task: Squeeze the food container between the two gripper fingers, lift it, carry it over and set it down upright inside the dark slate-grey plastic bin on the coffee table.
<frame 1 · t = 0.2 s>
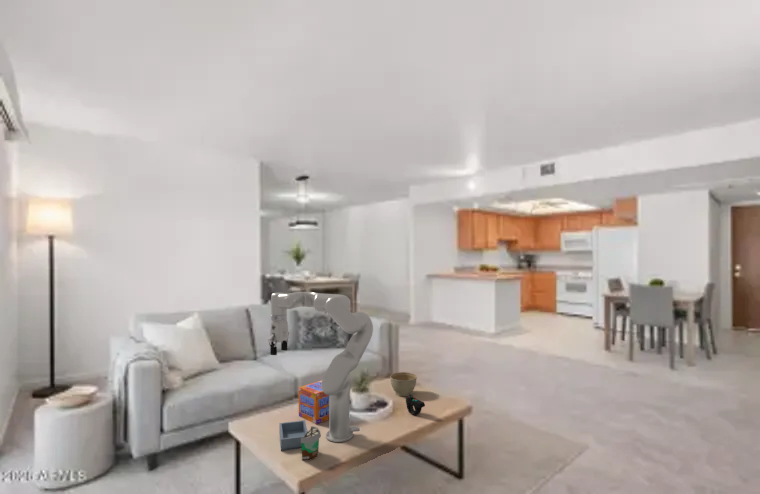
hand: (279, 352, 205), 37 cm above the table, tool pointing down, fingers open, 9 cm apart
food container: (313, 456, 176), on the table
controller: (415, 415, 220), on the table
bin: (293, 440, 191), on the table
game box: (319, 416, 219), on the table
planter bowl: (403, 394, 252), on the table
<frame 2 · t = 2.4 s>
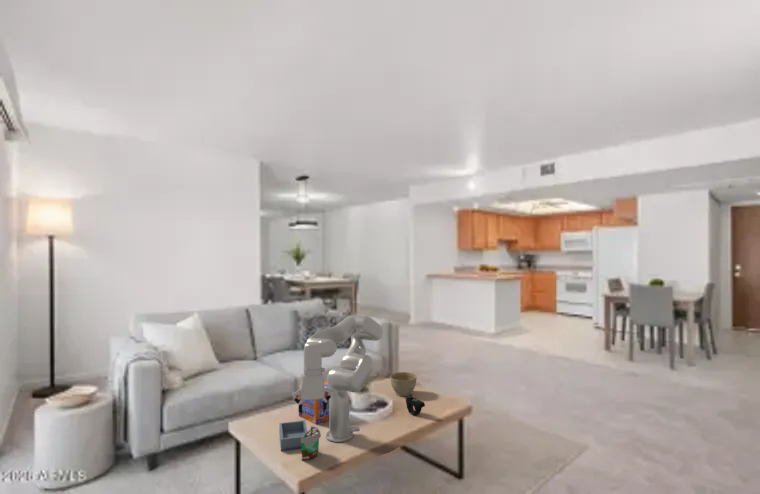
hand: (312, 412, 176), 19 cm above the table, tool pointing down, fingers open, 9 cm apart
nothing on the table moved.
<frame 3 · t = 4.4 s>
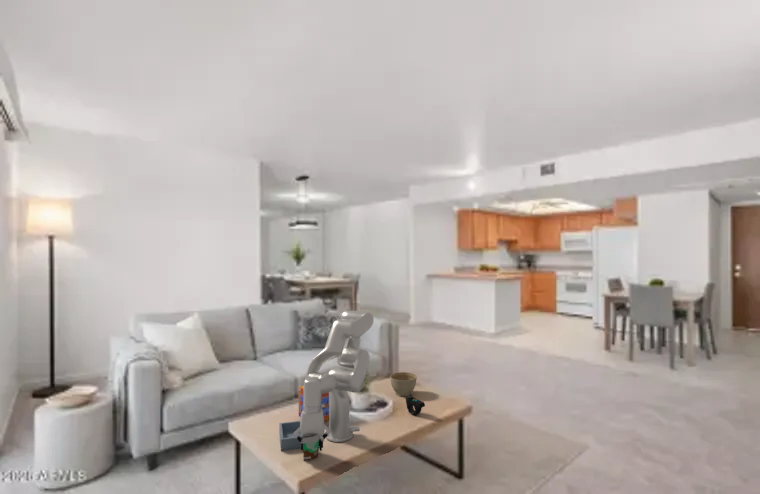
hand: (312, 450, 176), 3 cm above the table, tool pointing down, fingers closed on food container, 6 cm apart
food container: (313, 456, 176), on the table, touching gripper
everything else where it was.
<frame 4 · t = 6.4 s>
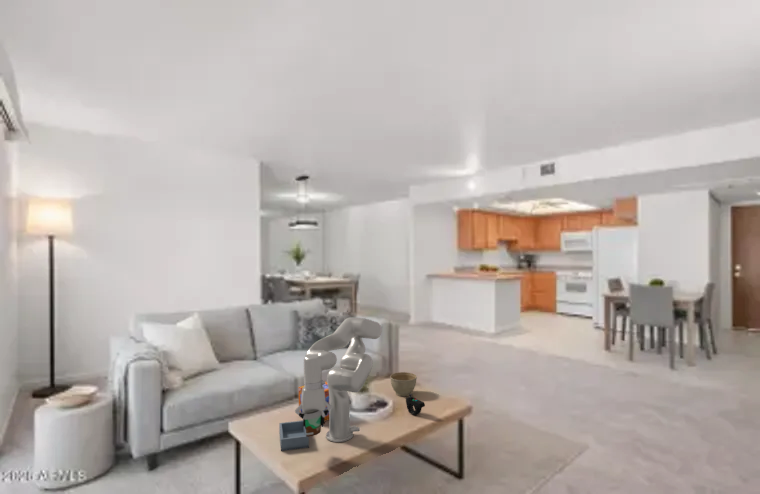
hand: (313, 426, 177), 12 cm above the table, tool pointing down, fingers closed on food container, 6 cm apart
food container: (316, 431, 178), point 10 cm above the table, touching gripper
everything else where it was.
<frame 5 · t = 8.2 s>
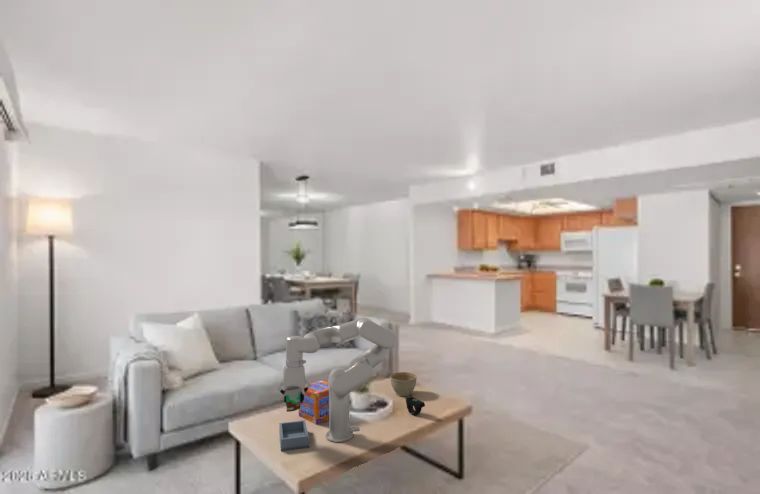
hand: (294, 402, 190), 18 cm above the table, tool pointing down, fingers closed on food container, 6 cm apart
food container: (296, 408, 191), point 15 cm above the table, touching gripper
everything else where it was.
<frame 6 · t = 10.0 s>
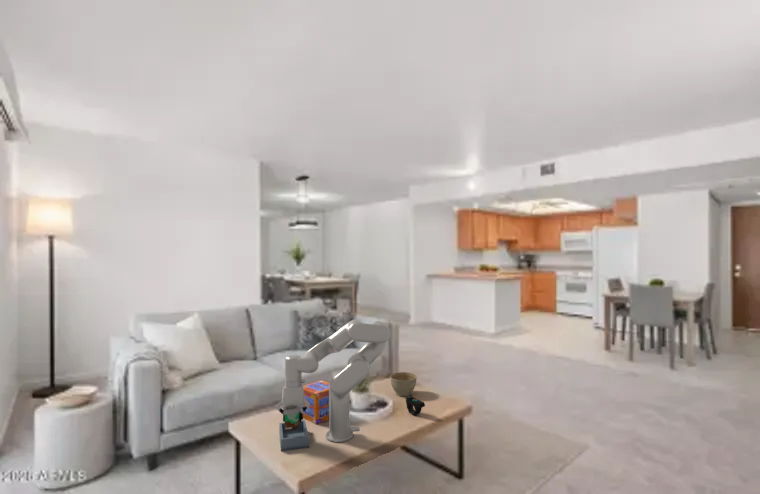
hand: (292, 421, 191), 9 cm above the table, tool pointing down, fingers closed on food container, 6 cm apart
food container: (294, 427, 192), point 6 cm above the table, touching gripper
everything else where it was.
when the fingers open (5 cm above the table, at t = 11.6 s): food container drops 1 cm, resting on bin.
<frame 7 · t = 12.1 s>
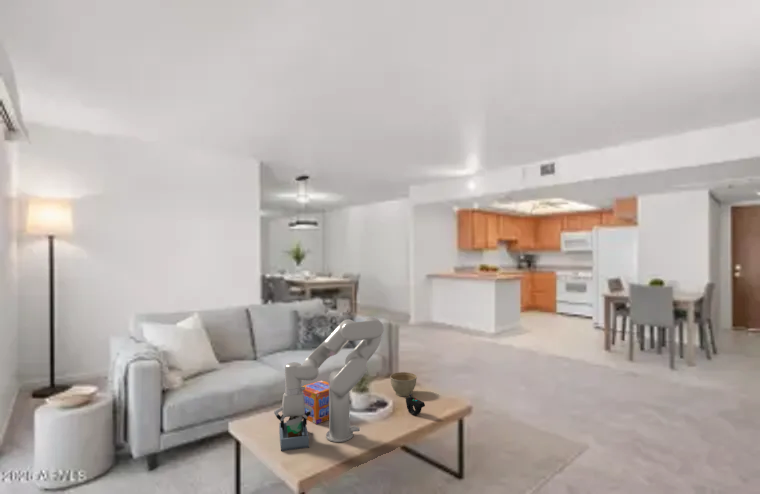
hand: (293, 427, 191), 6 cm above the table, tool pointing down, fingers open, 9 cm apart
food container: (297, 437, 192), point 1 cm above the table, touching bin, gripper
everything else where it was.
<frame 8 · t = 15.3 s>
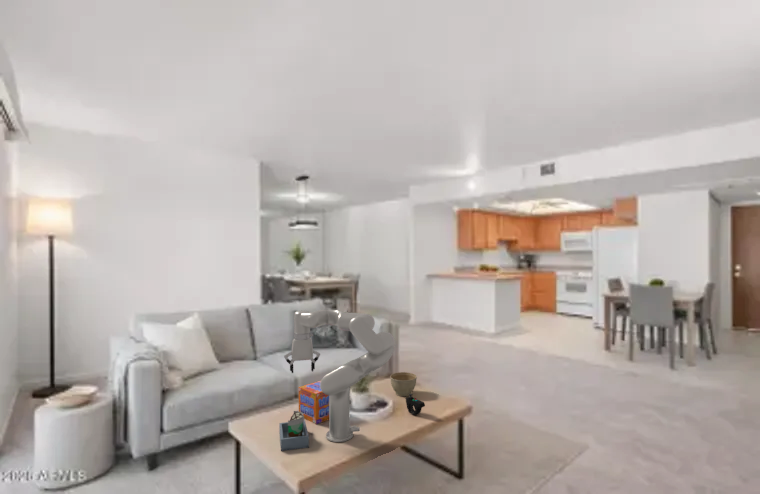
hand: (302, 371, 202), 28 cm above the table, tool pointing down, fingers open, 9 cm apart
food container: (297, 437, 192), point 1 cm above the table, touching bin
everything else where it was.
at the end: food container inside the target area on the bin (1.9 cm from its centre), point 0.8 cm above the bin's base; food container tilted 0°; the gripper is holding nothing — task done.
